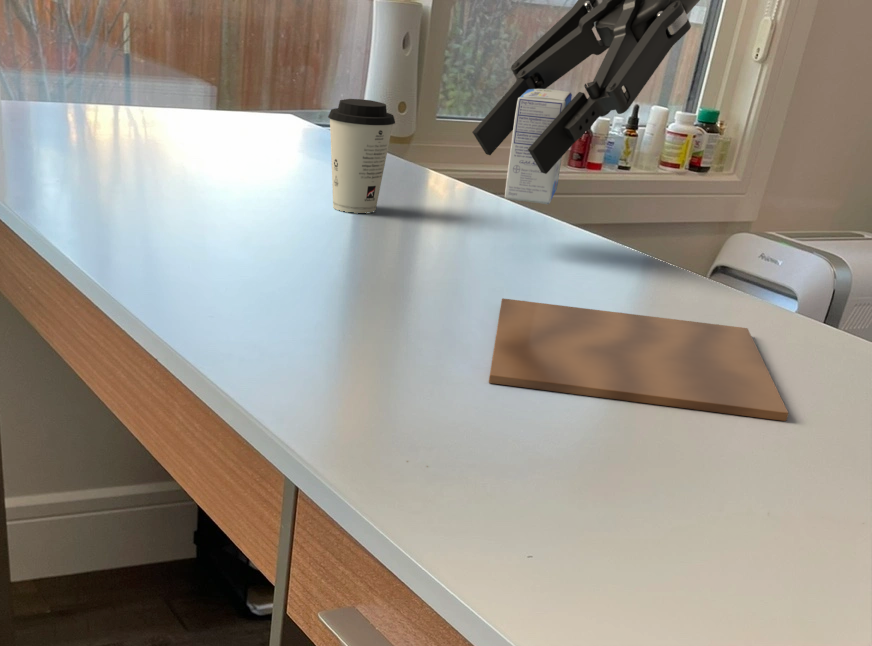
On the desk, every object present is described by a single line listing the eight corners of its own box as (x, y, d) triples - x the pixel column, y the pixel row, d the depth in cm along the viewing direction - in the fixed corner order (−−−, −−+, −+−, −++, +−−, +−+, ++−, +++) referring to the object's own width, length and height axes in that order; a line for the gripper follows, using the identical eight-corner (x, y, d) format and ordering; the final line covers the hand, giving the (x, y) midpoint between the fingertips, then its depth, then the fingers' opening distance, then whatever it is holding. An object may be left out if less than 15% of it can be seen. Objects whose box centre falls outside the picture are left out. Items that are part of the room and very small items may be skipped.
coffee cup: (391, 218, 117) (401, 110, 111) (324, 214, 116) (332, 105, 110) (382, 203, 122) (392, 100, 116) (319, 199, 121) (325, 95, 116)
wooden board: (745, 335, 91) (747, 327, 90) (786, 421, 74) (788, 412, 74) (500, 305, 92) (501, 298, 92) (488, 383, 76) (489, 374, 76)
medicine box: (550, 205, 104) (567, 99, 99) (502, 200, 104) (517, 94, 99) (556, 191, 110) (573, 91, 105) (511, 186, 111) (526, 86, 106)
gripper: (781, 2, 96) (595, 207, 99) (624, -16, 111) (467, 162, 114) (753, -79, 91) (558, 140, 93) (593, -86, 106) (428, 102, 109)
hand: (508, 152), depth 104 cm, fingers closed on medicine box, 9 cm apart
